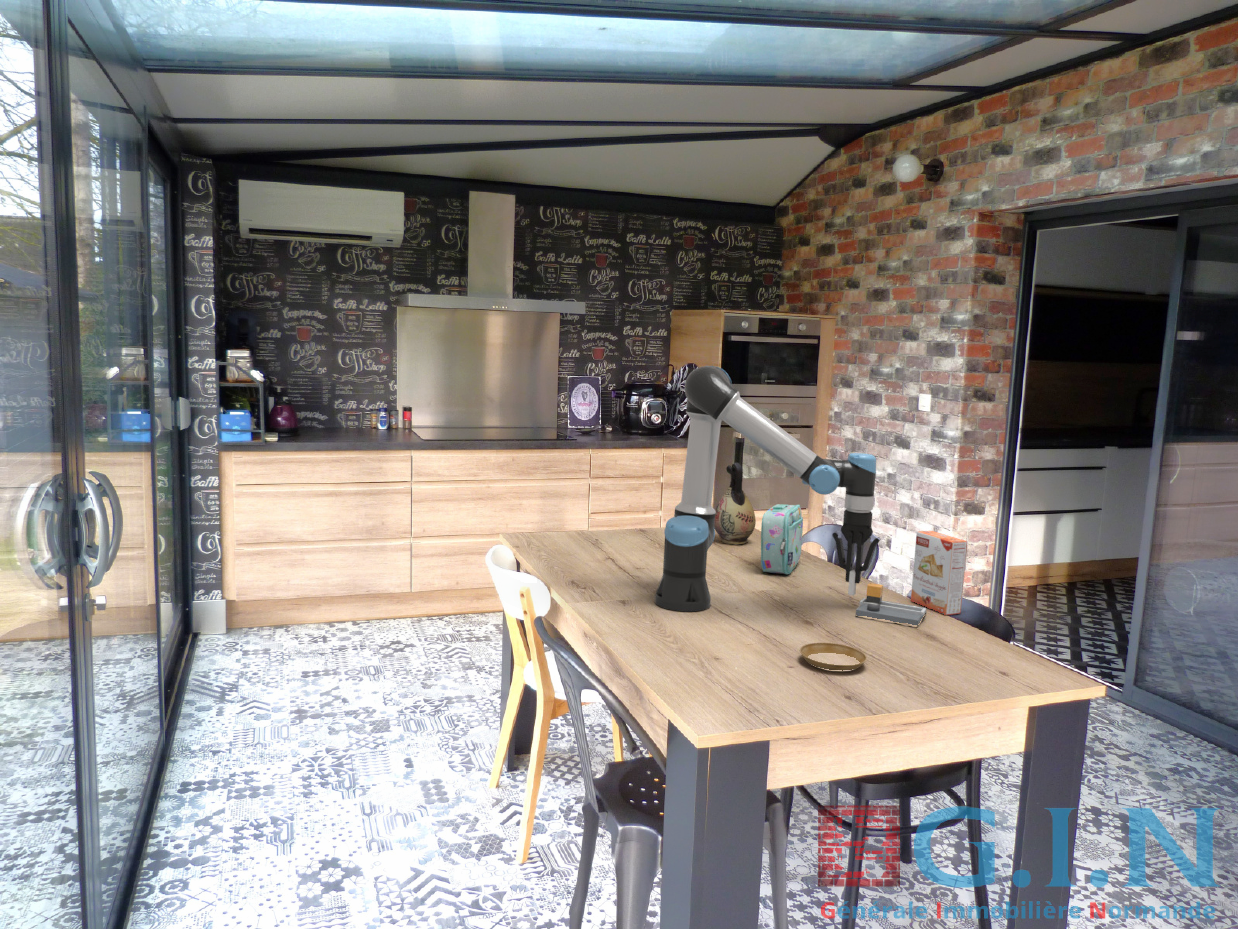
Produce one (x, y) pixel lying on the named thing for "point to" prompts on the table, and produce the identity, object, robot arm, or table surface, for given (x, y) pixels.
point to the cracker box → (939, 572)
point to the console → (891, 611)
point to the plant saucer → (832, 648)
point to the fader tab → (874, 593)
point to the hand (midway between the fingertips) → (851, 593)
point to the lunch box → (781, 538)
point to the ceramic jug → (734, 511)
